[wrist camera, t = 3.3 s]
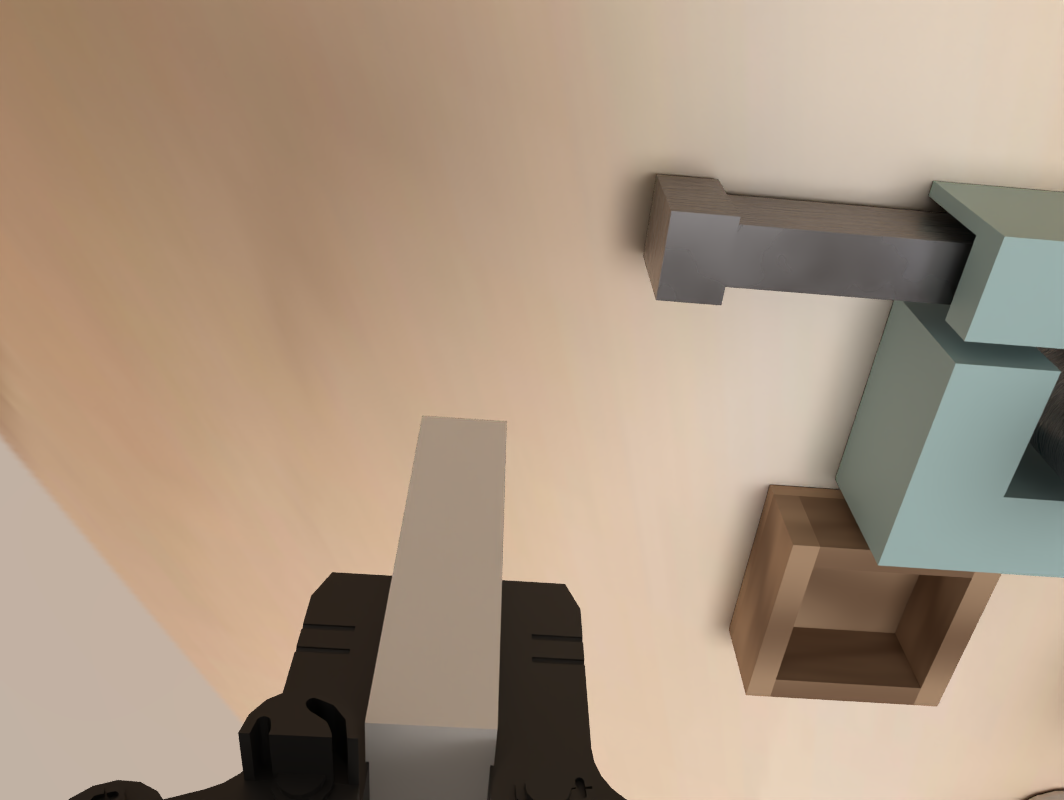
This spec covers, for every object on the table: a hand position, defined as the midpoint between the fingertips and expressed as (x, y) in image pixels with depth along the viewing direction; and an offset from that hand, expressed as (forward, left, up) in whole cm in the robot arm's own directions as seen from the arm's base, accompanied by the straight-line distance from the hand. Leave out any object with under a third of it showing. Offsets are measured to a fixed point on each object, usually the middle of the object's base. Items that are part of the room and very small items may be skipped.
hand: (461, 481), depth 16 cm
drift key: (0, +10, -15) cm, 18 cm away
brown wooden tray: (+14, +16, -15) cm, 26 cm away
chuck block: (+4, +20, -15) cm, 25 cm away
